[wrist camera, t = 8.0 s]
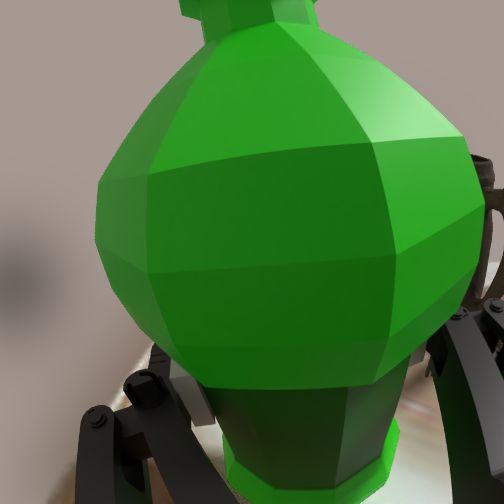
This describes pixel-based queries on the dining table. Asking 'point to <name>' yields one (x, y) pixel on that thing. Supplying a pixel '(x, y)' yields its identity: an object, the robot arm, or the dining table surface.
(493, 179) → the beer stein
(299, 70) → the plastic bottle
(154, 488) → the dining table surface
